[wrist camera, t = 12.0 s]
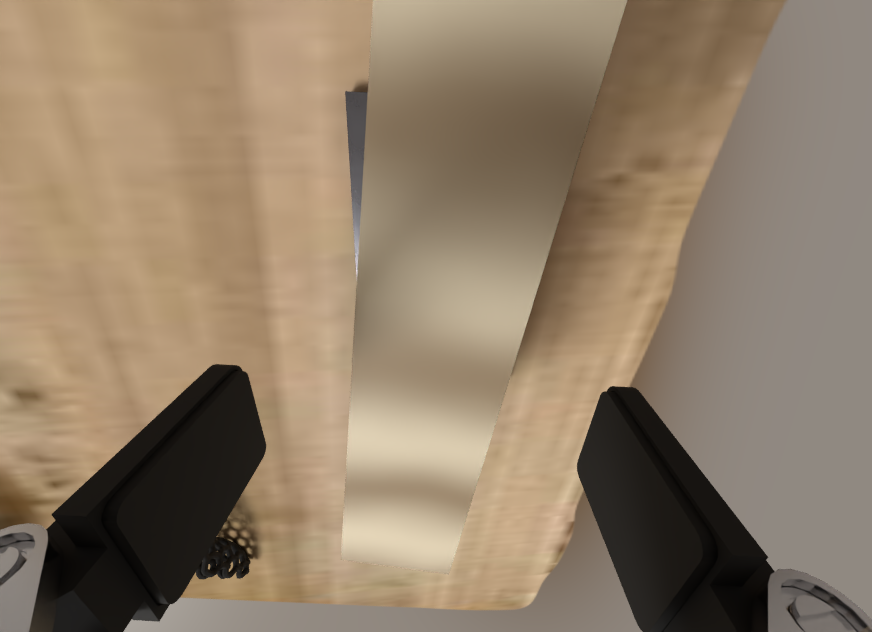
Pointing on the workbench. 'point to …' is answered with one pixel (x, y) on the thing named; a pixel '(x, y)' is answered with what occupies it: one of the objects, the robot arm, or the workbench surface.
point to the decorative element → (223, 560)
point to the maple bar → (455, 246)
